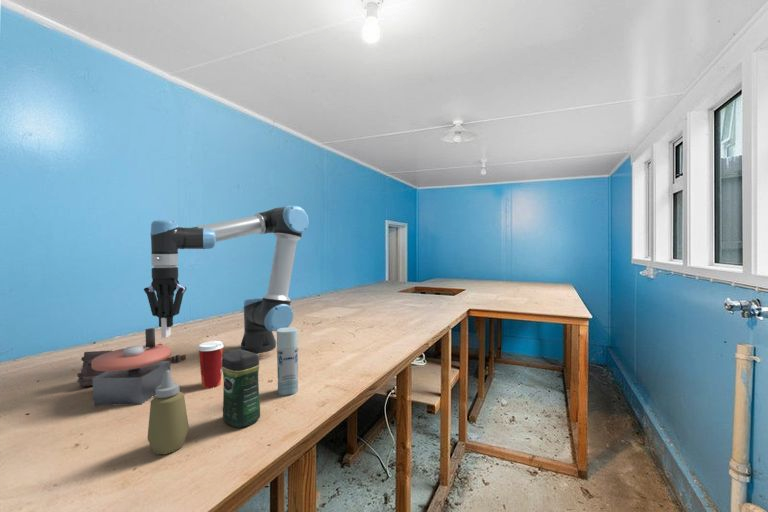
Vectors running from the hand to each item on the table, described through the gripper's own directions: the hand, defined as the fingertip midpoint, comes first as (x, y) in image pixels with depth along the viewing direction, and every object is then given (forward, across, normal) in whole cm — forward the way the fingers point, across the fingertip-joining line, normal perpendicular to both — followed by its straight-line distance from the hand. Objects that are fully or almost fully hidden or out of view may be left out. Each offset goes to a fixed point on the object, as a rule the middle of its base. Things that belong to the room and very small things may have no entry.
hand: (166, 336), depth 113 cm
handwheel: (+8, -5, -8) cm, 12 cm away
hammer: (+17, -17, +11) cm, 26 cm away
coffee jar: (+16, +35, -25) cm, 46 cm away
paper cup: (+16, +16, -2) cm, 23 cm away
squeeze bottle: (+16, +23, -37) cm, 46 cm away
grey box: (+16, -5, -8) cm, 19 cm away
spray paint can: (+16, +43, -8) cm, 46 cm away
